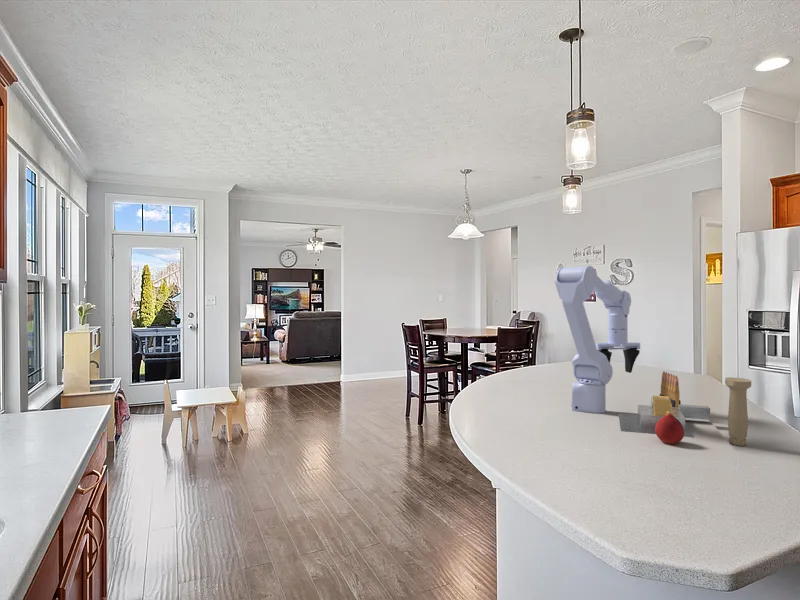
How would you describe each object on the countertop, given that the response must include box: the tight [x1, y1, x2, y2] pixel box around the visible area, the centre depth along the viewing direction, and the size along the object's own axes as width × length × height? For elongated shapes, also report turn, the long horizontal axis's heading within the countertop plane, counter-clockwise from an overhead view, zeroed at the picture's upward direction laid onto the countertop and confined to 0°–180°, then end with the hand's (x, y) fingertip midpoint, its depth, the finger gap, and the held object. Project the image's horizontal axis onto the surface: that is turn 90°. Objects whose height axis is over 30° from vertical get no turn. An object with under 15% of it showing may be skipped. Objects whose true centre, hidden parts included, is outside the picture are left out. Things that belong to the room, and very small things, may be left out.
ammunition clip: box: [659, 370, 682, 408], centre depth 152 cm, size 11×2×12 cm, turn 174°
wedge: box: [652, 395, 671, 416], centre depth 136 cm, size 4×6×6 cm, turn 159°
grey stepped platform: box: [617, 396, 711, 438], centre depth 135 cm, size 22×21×6 cm
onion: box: [655, 412, 685, 445], centre depth 119 cm, size 6×6×8 cm
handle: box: [724, 377, 752, 447], centre depth 121 cm, size 5×6×15 cm
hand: (617, 372), depth 164 cm, fingers open, 7 cm apart
